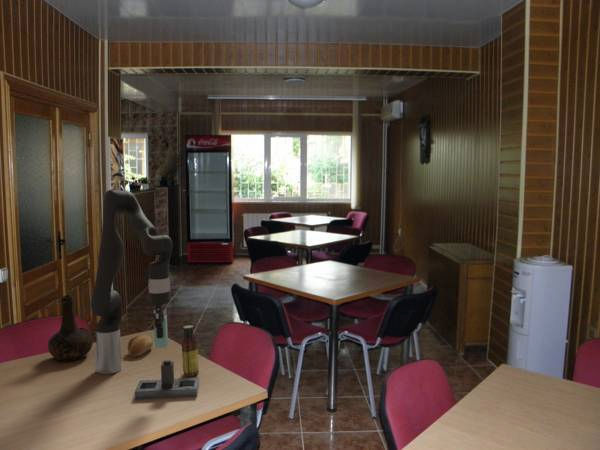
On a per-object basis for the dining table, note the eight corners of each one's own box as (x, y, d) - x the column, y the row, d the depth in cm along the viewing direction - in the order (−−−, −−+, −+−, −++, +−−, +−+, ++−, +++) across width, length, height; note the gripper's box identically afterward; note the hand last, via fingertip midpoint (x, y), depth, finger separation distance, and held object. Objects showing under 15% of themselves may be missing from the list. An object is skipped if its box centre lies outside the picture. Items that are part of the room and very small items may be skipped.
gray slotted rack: (134, 399, 182) (133, 367, 181) (140, 388, 192) (139, 357, 190) (196, 396, 184) (196, 364, 183) (199, 385, 194) (198, 355, 193)
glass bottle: (101, 355, 227) (99, 294, 224) (64, 368, 212) (61, 302, 209) (77, 348, 236) (74, 289, 233) (40, 360, 221) (37, 297, 218)
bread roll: (122, 358, 223) (121, 340, 223) (137, 347, 238) (136, 330, 237) (142, 359, 222) (142, 341, 221) (156, 348, 237) (156, 331, 236)
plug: (155, 347, 183) (153, 315, 182) (156, 344, 187) (155, 312, 186) (166, 347, 184) (165, 315, 183) (167, 343, 188) (166, 312, 187)
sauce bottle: (200, 371, 208) (199, 324, 206) (196, 377, 202) (195, 329, 200) (185, 370, 209) (184, 324, 207) (180, 376, 202) (179, 328, 201)
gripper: (166, 294, 177) (168, 341, 179) (172, 285, 191) (174, 329, 193) (145, 294, 176) (147, 342, 178) (152, 286, 190) (154, 330, 192)
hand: (161, 335), depth 185 cm, fingers closed on plug, 4 cm apart
